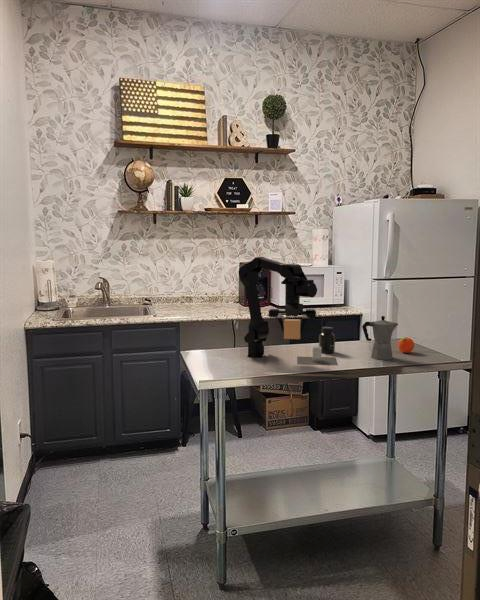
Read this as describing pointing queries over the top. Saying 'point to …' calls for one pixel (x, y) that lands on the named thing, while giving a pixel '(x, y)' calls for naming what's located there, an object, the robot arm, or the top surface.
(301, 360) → the dark gray mat
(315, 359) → the gray rectangular block
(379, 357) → the coffeepot
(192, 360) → the top surface
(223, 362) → the top surface
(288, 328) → the rounded wooden cube
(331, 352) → the supplement bottle
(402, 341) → the clementine
